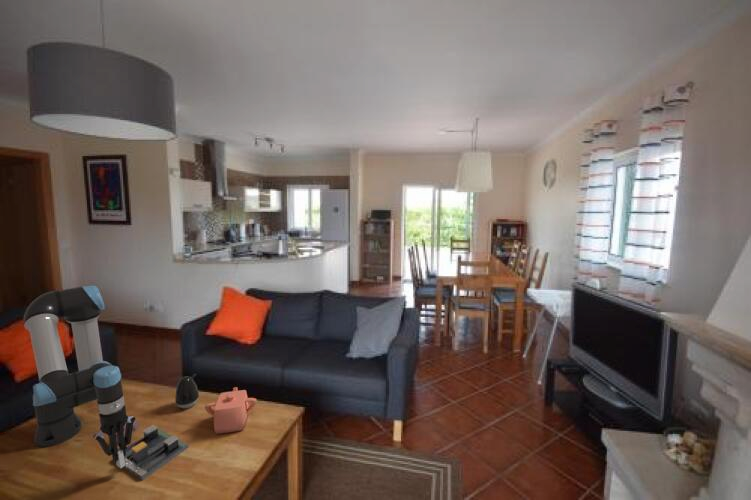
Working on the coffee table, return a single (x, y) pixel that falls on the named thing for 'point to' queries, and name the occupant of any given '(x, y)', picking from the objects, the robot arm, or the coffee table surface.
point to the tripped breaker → (139, 451)
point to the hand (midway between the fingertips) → (120, 465)
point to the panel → (154, 452)
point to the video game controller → (135, 426)
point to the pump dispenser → (186, 392)
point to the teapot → (231, 411)
